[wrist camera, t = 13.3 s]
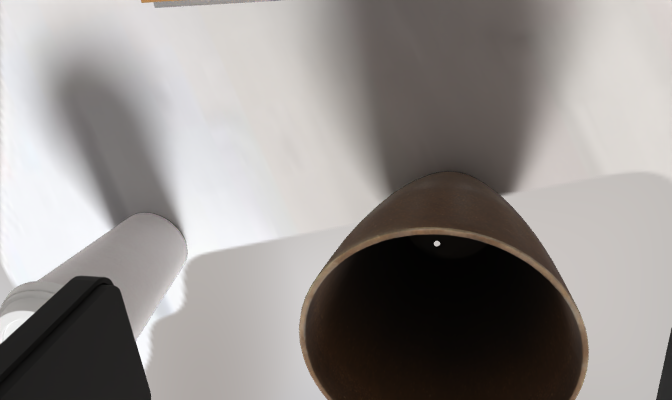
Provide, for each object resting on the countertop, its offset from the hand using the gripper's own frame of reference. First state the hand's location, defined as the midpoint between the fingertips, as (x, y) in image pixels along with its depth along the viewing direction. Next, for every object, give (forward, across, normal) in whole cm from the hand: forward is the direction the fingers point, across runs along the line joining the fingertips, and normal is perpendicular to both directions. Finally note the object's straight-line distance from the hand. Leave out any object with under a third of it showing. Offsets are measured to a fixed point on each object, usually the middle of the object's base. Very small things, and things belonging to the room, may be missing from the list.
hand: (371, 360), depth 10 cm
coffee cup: (+32, +26, +18) cm, 45 cm away
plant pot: (+32, 0, +14) cm, 35 cm away
